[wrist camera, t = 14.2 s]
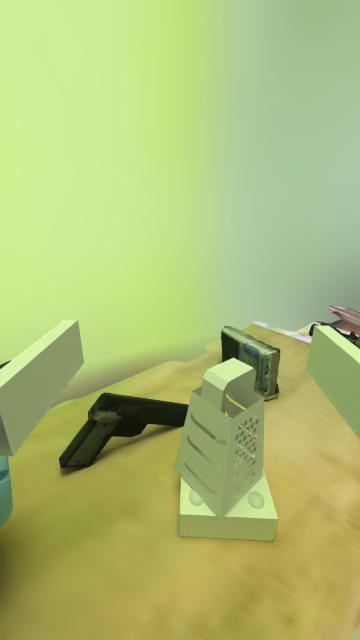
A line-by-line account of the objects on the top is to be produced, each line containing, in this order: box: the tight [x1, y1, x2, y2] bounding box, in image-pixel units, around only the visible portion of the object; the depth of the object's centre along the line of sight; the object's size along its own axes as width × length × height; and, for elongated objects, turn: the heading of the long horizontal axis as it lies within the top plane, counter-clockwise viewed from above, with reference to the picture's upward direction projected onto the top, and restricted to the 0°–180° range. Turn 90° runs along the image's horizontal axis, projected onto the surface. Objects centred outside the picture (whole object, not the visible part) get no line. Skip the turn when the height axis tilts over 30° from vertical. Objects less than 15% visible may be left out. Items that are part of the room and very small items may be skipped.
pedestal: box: [179, 439, 278, 541], centre depth 44 cm, size 14×14×5 cm
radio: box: [218, 326, 280, 400], centre depth 76 cm, size 23×9×15 cm, turn 15°
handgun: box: [59, 393, 189, 468], centre depth 54 cm, size 2×24×15 cm, turn 120°
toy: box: [309, 323, 360, 349], centre depth 96 cm, size 30×8×30 cm
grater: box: [174, 358, 264, 519], centre depth 40 cm, size 10×10×20 cm
